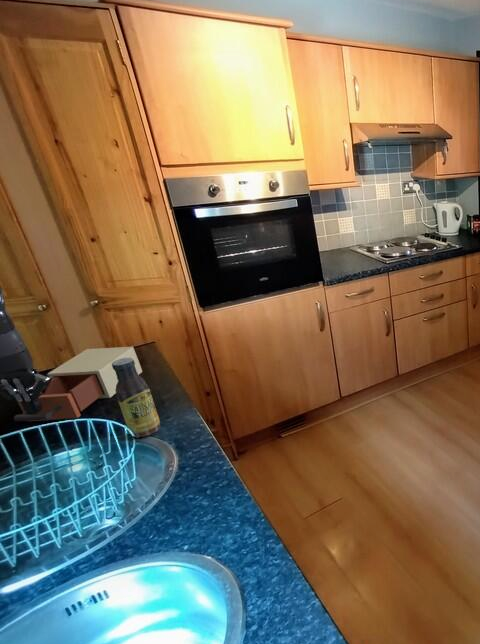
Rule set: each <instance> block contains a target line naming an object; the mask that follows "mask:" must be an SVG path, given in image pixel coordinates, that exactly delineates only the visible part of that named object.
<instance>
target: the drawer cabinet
mask: <svg viewBox="0 0 480 644" xmlns="http://www.w3.org/2000/svg"><path fill="white" fill-rule="evenodd" d="M123 358H133V360H134V362H135V368H136V371H137V373H138V375H139V376H140V374H142V373H143V369H142V366H141V364H140V360H139V359H138V356H137V353H136V351H135V348H134V346H121V347H120V346H119V347H101V348H86V349H85V350H83V351H81V352H80V353H78V354H76V355H75V356H73V357H72V358H70V359H69V360H67V361H65V362H63V363H62V364H61V365H59V366H58V367H56V368H54V369H52V370H51V371H49V372H48V373H46V374H47V375H46V376H48V375H50V376H52V379H53V378H54V377H56V376H67V375H85V374H97V376H98V379H99V381H100V383H101V386H102V388H103V390H104V394H103V395H102V396H100V397H99V398H98V399H97V400H100V399H111V398H112V397H113V396H114V395H117V394H116V391H115V390H116V385H117V383H118V379H117V375H116V372H115V370H114V369H113V367H112V363H113V362H114V361H116V360H119V359H123Z"/></svg>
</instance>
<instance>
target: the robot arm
mask: <svg viewBox="0 0 480 644" xmlns="http://www.w3.org/2000/svg"><path fill="white" fill-rule="evenodd" d="M51 380H52V376H50V375H46V376H45V375H43V374H40V373H39V371H38V369H36V368H35V366H34V359H33V356H32V353H31V352H30V350H29V348H28V346H27V344H26V342H25V339H23V336H22V335H21V333H20V332H19V330H18V329H17V327H16V325H15V324H14V321H13V319H12V318H11V316H10V314H9V313H8V310H7V307H6V301H5V296H4V293H3V288H2V286H1V284H0V397H2V398H4V399H6V400H8V401H10V402H11V401H17V403H18V402H20V403H21V405H22V407H23V408H24V410H25V411H26V412H27V413H28V414H37V413H38V412H39V411H41V409H42V405H41V403H40V401H39V399H38V397H40V396H41V395H43V394H44V393H45V392H46V390H47V388H48V386H49V384H50V382H51ZM30 393H31V394H30Z"/></svg>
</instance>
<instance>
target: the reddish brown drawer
mask: <svg viewBox="0 0 480 644" xmlns="http://www.w3.org/2000/svg"><path fill="white" fill-rule="evenodd" d="M30 394H31V393H30ZM103 394H104V390H103V388H102V386H101V383H100V381H99V379H98V376H97V374H85V375H67V376H56V377H54V378H53V379H52V380H51V382H50V384H49V386H48V388H47V390H46V392H45V393H44V394H43V395H41V396H40V397H38V399H39V401H40V403H41V405H42V409H41V411H39V412H38V413H37V414H28V413H27V412H26V411H25V410H24V408H23V407H22V405H21V403H20V402H18V401H17V403H18V405H19V407H20V409H21V411H22V413H21V414H15V416H14V417H13V420H14V422H40V421H41V422H42V421H54V420H55V421H56V420H70V419H78V418H80V417H81V416H82V415H81V413H80V412H83V411H84V410H85V409H86V408H88V407H89V406H90V405H92V404H93V403H94V402H95V401H97V400H99V399H98V398H99V397H100V396H102V395H103Z"/></svg>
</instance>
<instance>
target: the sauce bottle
mask: <svg viewBox="0 0 480 644" xmlns="http://www.w3.org/2000/svg"><path fill="white" fill-rule="evenodd" d="M112 367H113V369H114V370H115V372H116V375H117V379H118V383H117V385H116V390H115V391H116V394H115V395H116V397H117V402H118V405H119V407H120V410H121V414H122V416H123V419H124V422H125V424H126V427H127V429H128V428H129V429H130V430H132V431H133V433H134V434H135V436H136V438H135V439H140V438H139V437H142V438H146V437H149V436H151V435H154V434H156V433H157V432H158V431H159V430H160V429H161V424H160V423H161V421H160V418H159V414H158V411H157V409H156V405H155V402H154V399H153V396H152V392H151V390H150V387H149V386H148V384H147V383H146V381H145V379H144V378H142V377H141V376H140V374H139V375H138V373H137V371H136V368H135V362H134V360H133V358H123V359H119V360H116V361H114V362H113V363H112Z"/></svg>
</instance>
